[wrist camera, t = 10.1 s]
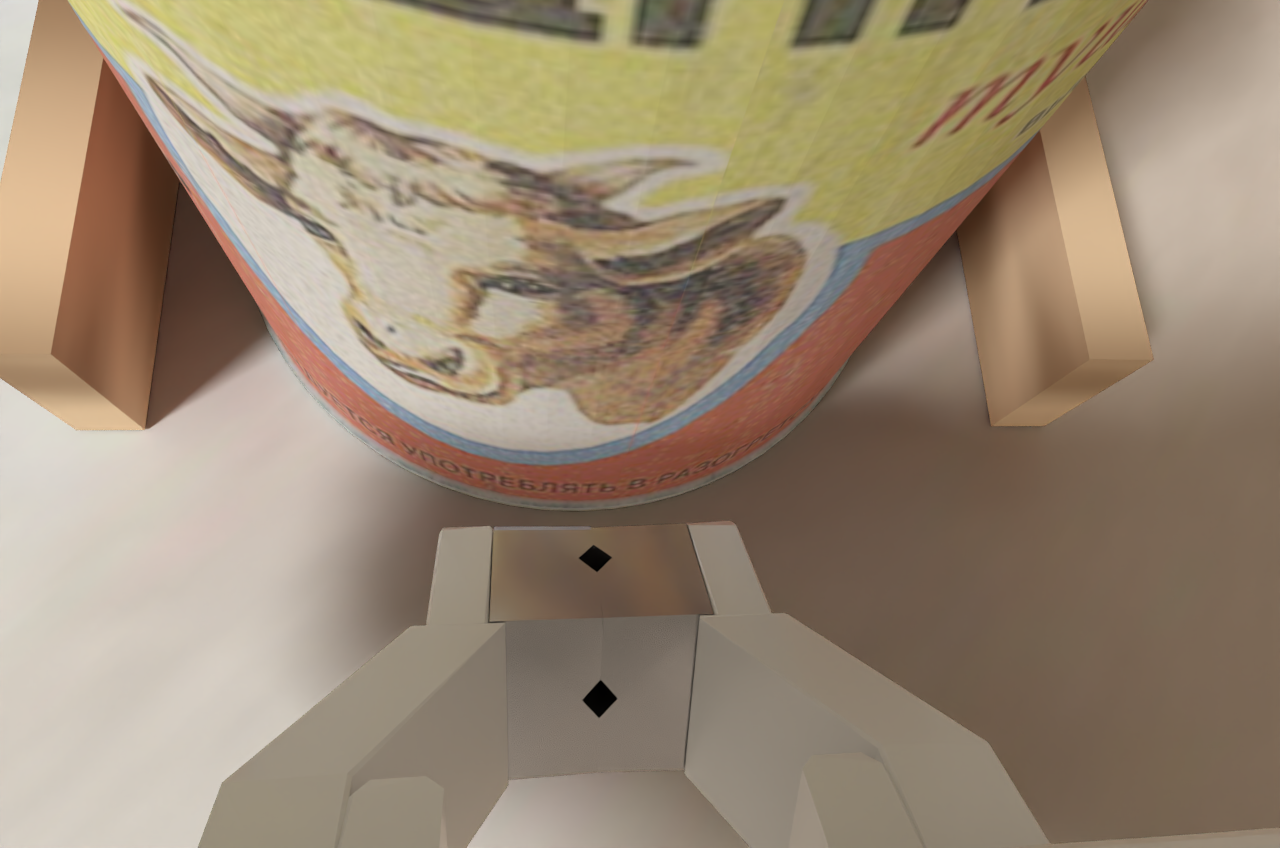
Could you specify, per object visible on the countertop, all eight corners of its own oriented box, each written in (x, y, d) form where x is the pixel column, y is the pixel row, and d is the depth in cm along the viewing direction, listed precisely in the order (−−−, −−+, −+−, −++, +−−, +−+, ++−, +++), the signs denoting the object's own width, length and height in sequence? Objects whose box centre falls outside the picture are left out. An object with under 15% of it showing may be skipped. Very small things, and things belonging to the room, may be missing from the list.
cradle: (1044, 426, 16) (1256, 296, 11) (76, 429, 14) (-148, 277, 9) (950, -59, 20) (1082, -309, 15) (164, -109, 18) (32, -414, 13)
